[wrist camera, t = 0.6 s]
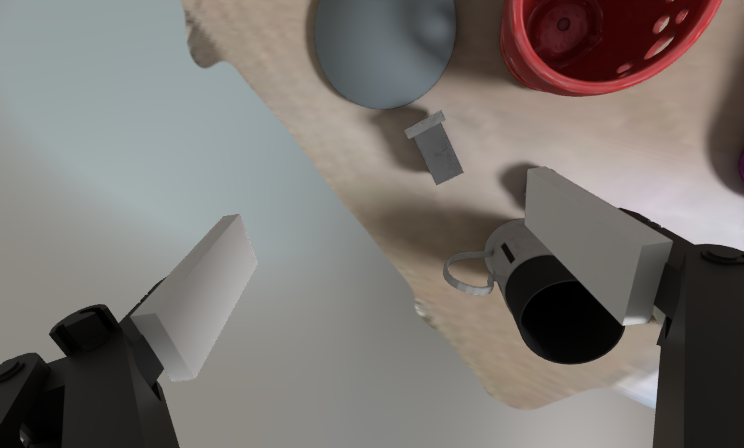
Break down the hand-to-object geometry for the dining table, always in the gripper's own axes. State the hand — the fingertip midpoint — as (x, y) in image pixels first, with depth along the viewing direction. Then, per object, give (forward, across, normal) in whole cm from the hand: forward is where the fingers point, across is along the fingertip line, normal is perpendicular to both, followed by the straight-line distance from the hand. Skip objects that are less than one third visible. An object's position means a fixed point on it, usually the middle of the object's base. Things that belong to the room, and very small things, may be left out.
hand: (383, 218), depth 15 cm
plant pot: (+24, +19, +6) cm, 31 cm away
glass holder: (+21, +13, -16) cm, 29 cm away
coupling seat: (+27, +3, +9) cm, 29 cm away
